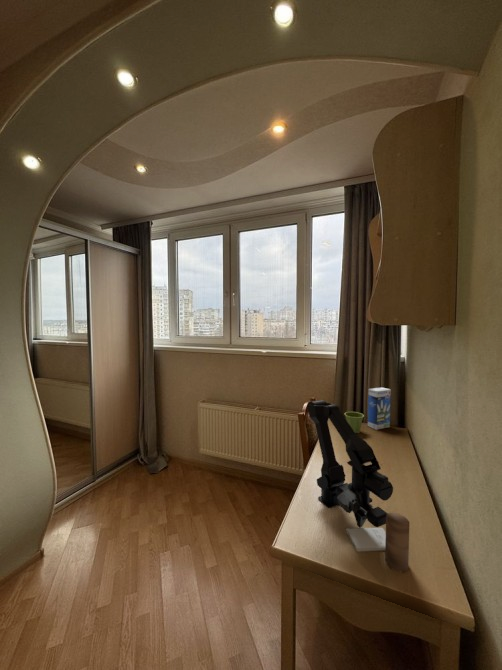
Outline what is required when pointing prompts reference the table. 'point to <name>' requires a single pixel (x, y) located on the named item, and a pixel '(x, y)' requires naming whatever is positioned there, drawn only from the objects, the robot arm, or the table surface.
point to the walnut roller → (397, 542)
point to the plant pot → (354, 420)
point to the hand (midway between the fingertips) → (359, 526)
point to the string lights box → (379, 408)
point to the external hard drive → (367, 538)
